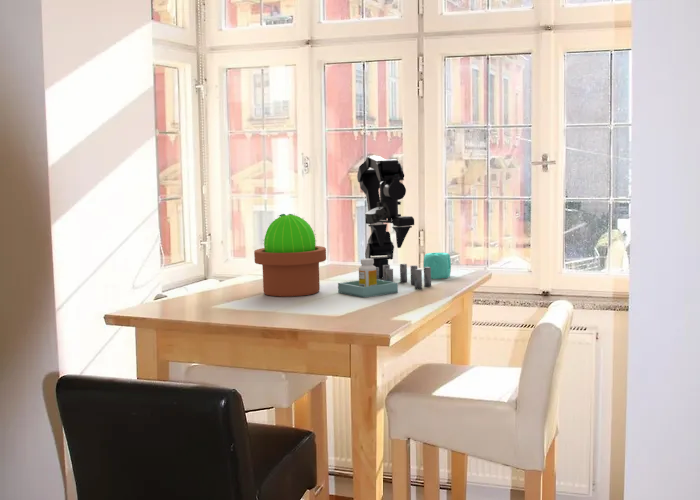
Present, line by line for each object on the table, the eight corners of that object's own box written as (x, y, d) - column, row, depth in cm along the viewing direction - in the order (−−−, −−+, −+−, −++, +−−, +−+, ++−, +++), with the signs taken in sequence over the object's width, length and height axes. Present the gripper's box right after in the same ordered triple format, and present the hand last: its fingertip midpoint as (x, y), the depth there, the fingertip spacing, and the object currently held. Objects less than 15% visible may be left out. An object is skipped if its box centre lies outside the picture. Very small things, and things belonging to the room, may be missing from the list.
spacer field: (367, 285, 286) (366, 267, 285) (400, 281, 294) (400, 263, 293) (402, 291, 271) (402, 272, 271) (436, 286, 279) (436, 267, 279)
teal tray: (338, 292, 273) (338, 283, 273) (372, 288, 281) (371, 278, 281) (363, 297, 263) (363, 287, 263) (397, 292, 270) (397, 282, 270)
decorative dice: (451, 275, 303) (450, 252, 302) (447, 279, 296) (446, 255, 295) (428, 275, 306) (427, 252, 305) (423, 278, 298) (423, 255, 297)
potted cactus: (317, 298, 264) (314, 214, 261) (247, 298, 268) (243, 215, 265) (333, 287, 285) (331, 209, 282) (268, 287, 289) (265, 210, 287)
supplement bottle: (377, 289, 274) (376, 257, 273) (376, 291, 269) (375, 260, 268) (360, 289, 275) (359, 258, 274) (358, 292, 270) (357, 260, 268)
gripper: (351, 199, 289) (353, 247, 291) (387, 200, 274) (388, 251, 276) (378, 197, 295) (380, 244, 297) (414, 198, 280) (416, 248, 282)
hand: (390, 246), depth 288 cm, fingers open, 9 cm apart
